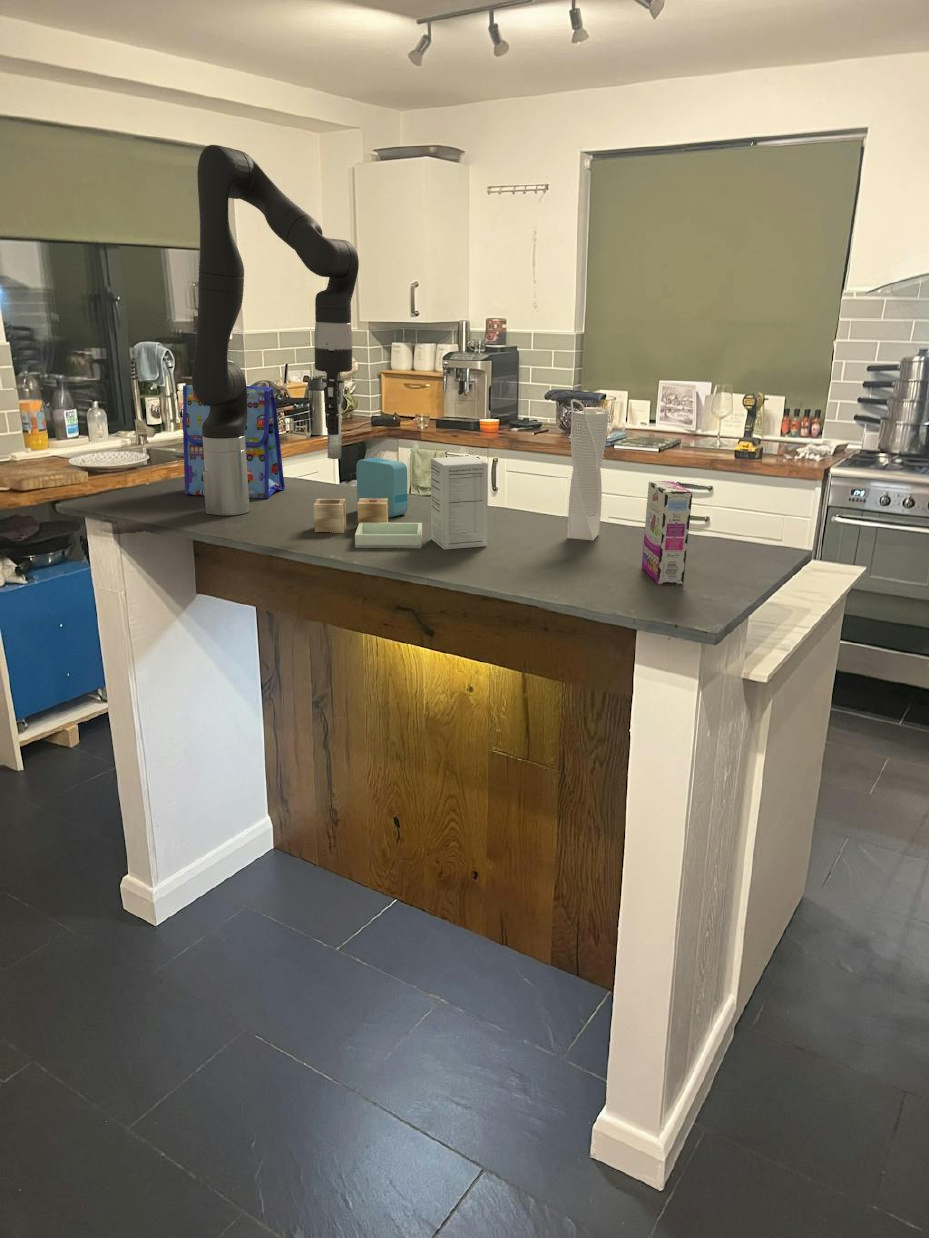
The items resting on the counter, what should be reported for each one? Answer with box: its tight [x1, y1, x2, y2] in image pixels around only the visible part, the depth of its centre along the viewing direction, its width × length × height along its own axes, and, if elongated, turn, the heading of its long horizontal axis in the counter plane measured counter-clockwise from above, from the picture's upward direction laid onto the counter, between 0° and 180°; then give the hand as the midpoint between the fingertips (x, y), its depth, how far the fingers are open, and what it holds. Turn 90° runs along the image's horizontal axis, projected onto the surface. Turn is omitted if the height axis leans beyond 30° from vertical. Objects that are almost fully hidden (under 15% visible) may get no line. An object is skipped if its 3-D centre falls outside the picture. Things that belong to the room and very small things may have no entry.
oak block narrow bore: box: [357, 498, 389, 526], centre depth 199 cm, size 6×6×6 cm
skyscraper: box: [567, 398, 609, 541], centre depth 191 cm, size 8×8×28 cm
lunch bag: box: [181, 384, 286, 499], centre depth 231 cm, size 22×14×29 cm, turn 82°
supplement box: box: [430, 455, 489, 551], centre depth 186 cm, size 10×9×17 cm
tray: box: [354, 522, 423, 549], centre depth 189 cm, size 13×11×3 cm
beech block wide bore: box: [313, 498, 347, 534], centre depth 198 cm, size 6×6×6 cm
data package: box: [355, 457, 408, 518], centre depth 213 cm, size 12×4×12 cm, turn 50°
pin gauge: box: [326, 397, 342, 460], centre depth 192 cm, size 3×3×14 cm
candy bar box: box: [641, 480, 694, 586], centre depth 165 cm, size 11×5×16 cm, turn 5°
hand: (334, 433), depth 192 cm, fingers closed on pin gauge, 2 cm apart
